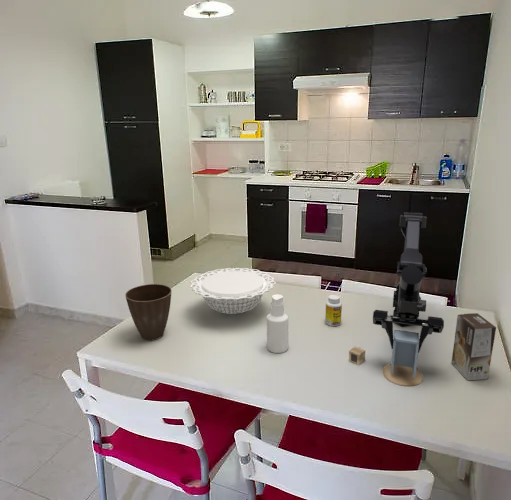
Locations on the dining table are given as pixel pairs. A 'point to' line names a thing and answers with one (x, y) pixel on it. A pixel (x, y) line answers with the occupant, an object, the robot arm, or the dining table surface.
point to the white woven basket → (232, 288)
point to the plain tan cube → (357, 355)
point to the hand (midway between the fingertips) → (405, 350)
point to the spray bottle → (277, 326)
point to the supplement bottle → (333, 311)
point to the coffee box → (473, 346)
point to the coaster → (402, 375)
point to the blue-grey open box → (405, 349)
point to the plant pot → (149, 309)
